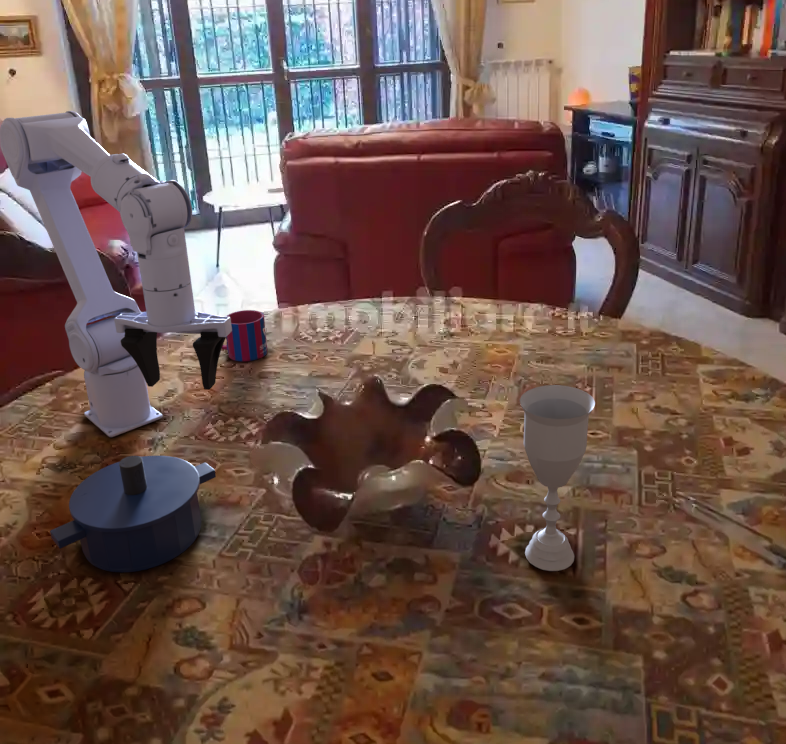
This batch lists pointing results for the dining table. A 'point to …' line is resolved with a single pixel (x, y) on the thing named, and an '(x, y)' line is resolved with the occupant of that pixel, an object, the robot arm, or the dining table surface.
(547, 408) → the chalice
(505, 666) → the dining table surface
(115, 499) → the lid
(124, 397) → the robot arm
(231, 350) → the mug
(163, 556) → the pot
